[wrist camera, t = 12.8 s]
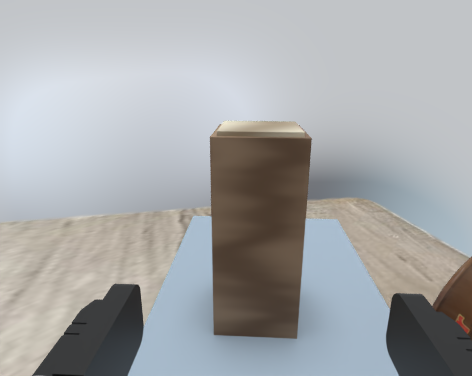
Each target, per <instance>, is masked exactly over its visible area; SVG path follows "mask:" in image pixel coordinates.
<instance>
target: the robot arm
mask: <svg viewBox="0 0 472 376" xmlns="http://www.w3.org/2000/svg"><path fill="white" fill-rule="evenodd" d="M143 328H144V325H143V314H142V303H141V293H140V287H139V285H135V284H114V285H113V286H112V287H111V288H110V290H109V291H108V293H107V294H106V296H105V297H104V299H103V300H94V301H93V302H91V303H90V304H89V305H87V306H86V307H84V308H83V309H82V310H81V311H80V312H79V313H78V315H77V316H76V317H75V319H74V320H73V321H72V325H70V326H69V327H68V328H67V330H66V331H65V332H64V335H63V336H61V338H60V339H59V340H58V342H57V343H56V344H55V346H54V347H53V348H52V350H51V351H50V352H49V354H48V355H47V356H46V358H45V359H44V360H43V362H42V363H41V364H40V366H39V367H38V369H37V370H36V371H35V373H34V374H33V375H32V376H128V374H129V371H130V369H131V366H132V364H133V362H134V359H135V357H136V355H137V352H138V350H139V348H140V345H141V342H142V337H143ZM386 345H387V350H388V354H389V356H390V358H391V360H392V362H393V364H394V367H395V369H396V371H397V373H398V375H399V376H472V341H471V338H470V337H469V335H468V334H467V333H466V332H465V331H464V329H463V328H462V327H461V326H460V325H459V324H458V323H457V322H456V321H454V320H453V319H451V318H450V317H448V316H447V315H446V314H444V313H443V312H436V311H435V310H434V308H433V307H432V306H431V304H430V303H429V302H428V301H427V299H426V298H425V297H424V296H423V295H421V294H401V293H396V294H394V295H393V297H392V302H391V308H390V314H389V320H388V326H387V331H386Z"/></svg>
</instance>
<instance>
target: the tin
mask: <svg viewBox="0 0 472 376" xmlns="http://www.w3.org/2000/svg"><path fill="white" fill-rule="evenodd" d="M432 307H433V308H434V310H435V311H436V312H443V313H444V314H446V315H447V316H448V317H450V318H451V319H453V320H454V321H456V322H457V323H458V324H459V325H460V326H461V327H462V328H463V329H464V331H465V332H466V333H467V334H468V335H469V337H470V338H471V341H472V257H471V258H469V259H468V261H466V262H465V263H464V264H463V265H462V266H461V267H460V268H459V269H458V270H457V272H456V273H455V274H454V275H453V276H452V277H451V279H450V280H449V281H448V283H447V284H446V285H445V286H444V288H443V289H442V291H441V292H440V294H439V295H438V297H437V299H436V301H435V302H434V304H433V306H432Z"/></svg>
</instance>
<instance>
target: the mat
mask: <svg viewBox="0 0 472 376" xmlns="http://www.w3.org/2000/svg"><path fill="white" fill-rule="evenodd" d="M389 314H390V309H389V307H388V306H387V304H386V302H385V300H384V299H383V297H382V295H381V294H380V292H379V290H378V288H377V287H376V285H375V283H374V282H373V280H372V278H371V276H370V275H369V273H368V271H367V270H366V268H365V266H364V264H363V263H362V261H361V259H360V258H359V256H358V254H357V252H356V251H355V249H354V247H353V245H352V244H351V242H350V240H349V239H348V237H347V235H346V233H345V232H344V230H343V228H342V227H341V225H340V223H339V221H338V220H337V219H306V222H305V236H304V250H303V263H302V277H301V291H300V305H299V318H298V332H297V339H291V338H268V337H245V336H223V335H214V325H213V271H212V217H211V216H193V218H192V220H191V223H190V225H189V227H188V229H187V232H186V234H185V236H184V238H183V240H182V243H181V245H180V247H179V249H178V252H177V254H176V256H175V258H174V261H173V263H172V265H171V267H170V270H169V272H168V274H167V276H166V278H165V281H164V283H163V285H162V287H161V290H160V292H159V294H158V296H157V299H156V301H155V303H154V305H153V307H152V310H151V312H150V314H149V316H148V319H147V321H146V323H145V325H144V328H143V337H142V342H141V345H140V348H139V350H138V352H137V355H136V357H135V359H134V362H133V364H132V366H131V369H130V371H129V374H128V376H399V375H398V373H397V371H396V369H395V367H394V364H393V362H392V360H391V358H390V356H389V354H388V350H387V345H386V331H387V326H388V320H389Z"/></svg>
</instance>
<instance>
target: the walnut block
mask: <svg viewBox="0 0 472 376" xmlns="http://www.w3.org/2000/svg"><path fill="white" fill-rule="evenodd" d="M311 140H312V139H311V137H310V136H309V135H308V134H307V133H306V132H305V131H304V130H303V129H302V128H301V127H300V125H298V124H297V123H296V122H276V121H275V122H274V121H273V122H272V121H269V122H268V121H224V122H223V124H220V125H219V126H218V128H217V129H216V130H215V131H214V133H213V134H212V135H211V136H210V159H211V160H210V163H211V217H212V271H213V325H214V335H223V336H245V337H268V338H291V339H297V332H298V318H299V305H300V291H301V277H302V263H303V250H304V236H305V222H306V208H307V194H308V180H309V167H310V153H311Z"/></svg>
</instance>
